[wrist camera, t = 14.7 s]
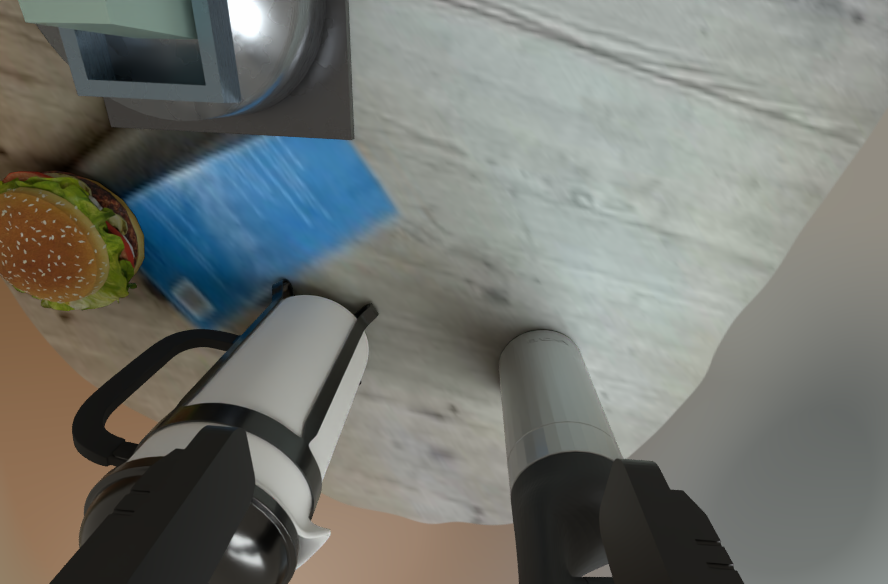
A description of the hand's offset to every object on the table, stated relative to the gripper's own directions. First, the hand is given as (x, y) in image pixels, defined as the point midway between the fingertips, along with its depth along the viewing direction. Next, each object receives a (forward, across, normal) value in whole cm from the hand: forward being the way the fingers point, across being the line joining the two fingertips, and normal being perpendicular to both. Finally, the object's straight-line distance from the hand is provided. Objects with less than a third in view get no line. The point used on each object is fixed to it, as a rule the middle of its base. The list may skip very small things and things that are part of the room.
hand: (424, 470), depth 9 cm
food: (+34, +38, +8) cm, 52 cm away
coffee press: (+34, +16, +18) cm, 42 cm away
